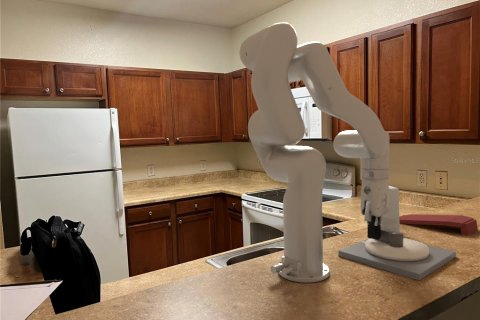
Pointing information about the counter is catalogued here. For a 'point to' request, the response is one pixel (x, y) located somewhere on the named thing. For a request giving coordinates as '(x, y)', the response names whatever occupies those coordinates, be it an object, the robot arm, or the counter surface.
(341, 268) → the counter surface
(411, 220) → the dark red ramp
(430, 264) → the dial plate
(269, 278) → the counter surface
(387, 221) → the skincare box
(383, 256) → the dial
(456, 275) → the counter surface
